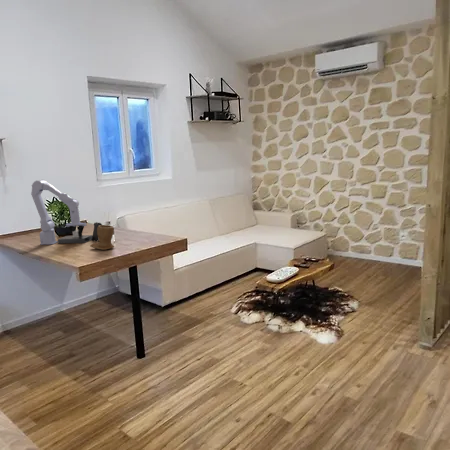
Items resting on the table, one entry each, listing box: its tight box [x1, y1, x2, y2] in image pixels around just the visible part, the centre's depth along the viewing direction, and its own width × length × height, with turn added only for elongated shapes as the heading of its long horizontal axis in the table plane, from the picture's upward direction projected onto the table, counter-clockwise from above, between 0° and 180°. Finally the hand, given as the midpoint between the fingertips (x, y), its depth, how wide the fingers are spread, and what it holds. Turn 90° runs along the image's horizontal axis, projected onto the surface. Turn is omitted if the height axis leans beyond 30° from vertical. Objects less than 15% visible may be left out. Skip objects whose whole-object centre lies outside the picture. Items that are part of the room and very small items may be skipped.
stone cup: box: [89, 224, 115, 251], centre depth 256 cm, size 15×12×15 cm
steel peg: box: [72, 229, 82, 238], centre depth 284 cm, size 4×4×6 cm
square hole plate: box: [57, 234, 93, 245], centre depth 285 cm, size 20×11×3 cm, turn 80°
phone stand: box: [91, 221, 103, 242], centre depth 285 cm, size 9×6×12 cm, turn 134°
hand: (77, 236), depth 285 cm, fingers closed on steel peg, 4 cm apart
